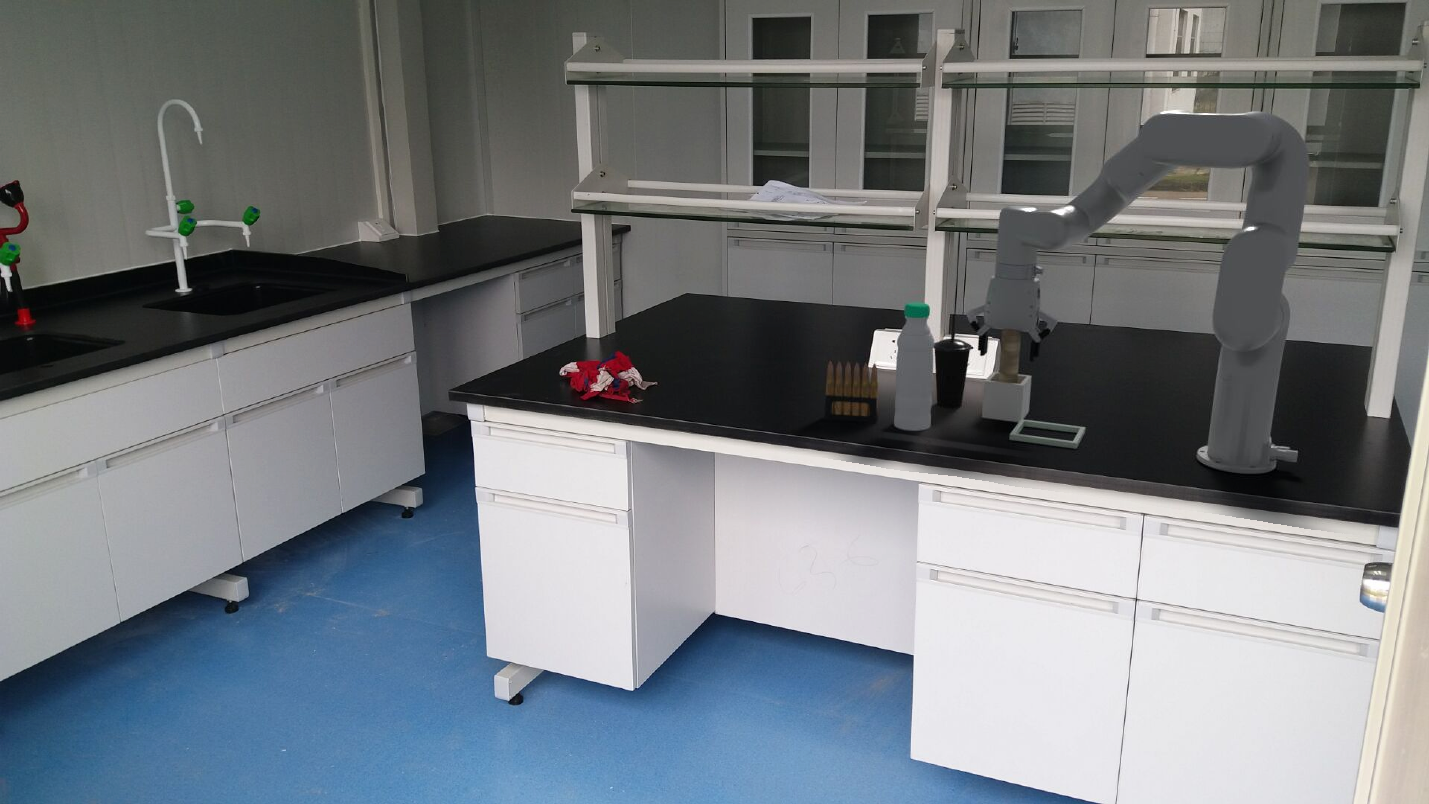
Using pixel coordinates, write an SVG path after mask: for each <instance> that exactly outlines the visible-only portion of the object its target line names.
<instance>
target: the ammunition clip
mask: <svg viewBox="0 0 1429 804" xmlns="http://www.w3.org/2000/svg"><path fill="white" fill-rule="evenodd" d="M827 365H828V366H827V370H826V371H827V373H826V381H825V402H824V415H823V417H824V418H823V419H824V420H829V421H844V422H858V423H859V422H860V423H874V424H876V423H878V421H879V408H878V407H879V404H878V401H879V399H878V398H879V395H878V394H879V382H878V368H877V365H876V363H873V365H872V368H871V374H870V375H871V376H870V379H869V368H868V363H866V362H865V363H864V366H863V367H862V375H861V373H860V372H861V371H860V366H859V363H858V362H856V363H855V365H854V370H853V376H852V369H851V364H850V362H849V361H847V362H846V366H845V368H844V369H845V371H844V381H843V368H842V363H841V361H838V363H837V365H836V368H835V369H836V370H835V379H834V368H833V367H834V366H833V363H832V361H831V360H830V361H829V363H828V364H827ZM860 375H861V376H862V377H861V376H860ZM852 377H853V378H852ZM869 380H870V382H869Z"/></svg>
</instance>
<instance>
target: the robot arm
mask: <svg viewBox="0 0 1429 804" xmlns="http://www.w3.org/2000/svg"><path fill="white" fill-rule="evenodd" d="M1179 167H1191V168H1210V169H1211V168H1212V169H1227V170H1229V169H1230V170H1232V169H1233V170H1235V169H1244V168H1248V167H1250V168H1251V181H1250V184H1249V189H1248V193H1247V197H1246V205H1245V210H1244V211H1245V212H1244V217H1243V223H1242V227H1241V230H1240V231H1238V232H1237V233H1235V235H1233V236H1232V237H1231V239H1229V241H1228V242H1227V244H1226V246H1225V248H1224V250H1223V254H1222V257H1221V261H1220V266H1219V273H1218V279H1217V284H1216V291H1215V295H1214V296H1215V297H1214V298H1215V299H1214V301H1213V302H1214V304H1213V310H1212V316H1211V317H1212V318H1211V325H1212V330H1213V332H1214V335H1215V337H1216V339H1217V340H1218V341H1219V343H1220V344H1221V347H1220V351H1219V357H1218V365H1217V371H1216V372H1217V373H1216V379H1215V384H1214V385H1215V386H1214V393H1213V404H1212V408H1211V409H1212V410H1211V416H1210V425H1209V433H1208V440H1207V445H1204V446H1202V447H1200V448H1198V450H1197V451H1196V459H1197V460H1198V461H1199V462H1200V463H1202V464H1203V465H1204V466H1207V467H1210V468H1212V469H1215V470H1219V471H1223V472H1229V473H1232V474H1233V473H1235V474H1245V475H1247V474H1248V475H1257V474H1258V475H1259V474H1265V473H1269V472H1271V471H1273V470H1274V469H1276V466H1277V460H1282V461H1285V462H1292V463H1297V460H1298V455H1299V452H1298V450H1291V448H1290V447H1289V446H1279V445H1275V444H1274V443H1272V437H1271V433H1272V427H1273V425H1272V424H1273V417H1274V411H1275V404H1276V398H1277V397H1276V396H1277V391H1278V385H1279V381H1280V380H1279V379H1280V371H1281V365H1282V360H1283V355H1284V349H1285V345H1286V340H1287V337H1288V331H1289V327H1290V321H1291V307H1290V304H1289V301H1288V299H1287V298H1286V296H1285V294H1284V293H1283V292H1282V290H1283V285H1284V282H1285V281H1284V280H1285V276H1286V272H1288V271H1289V270H1290V269H1291V268H1292V266H1293V264H1294V263H1295V261H1296V260H1297V256H1298V254H1299V253H1298V252H1299V244H1300V243H1299V242H1300V236H1301V231H1302V230H1301V229H1302V225H1303V224H1302V223H1303V217H1304V211H1305V203H1306V196H1307V191H1308V184H1309V179H1310V155H1309V150H1308V148H1307V144H1306V142H1305V141H1304V138H1303V137H1302V135H1301V133H1300V132H1299V131H1298V130H1297V129H1296V127H1294V126H1293V125H1291V123H1289V122H1288V121H1287V120H1285V119H1283V118H1281V117H1279V116H1277V115H1275V114H1272V113H1270V112H1265V111H1247V112H1243V113H1195V112H1194V113H1193V112H1191V111H1189V110H1184V109H1183V110H1182V109H1173V110H1165V111H1162V112H1159V113H1156V114H1154V115H1153V116H1151V117H1149V118H1148V119H1147V120H1146V121H1145V122H1144V124H1143V125H1142V126H1141V128H1140V130H1139V132H1138V136H1136V137H1135V138H1133V139H1132V140H1131V141H1130V142H1129V143H1127V144H1126V145H1125V146H1124V147H1122V148H1121V149H1120V150H1118V151H1117V152H1116V153H1114V155H1112V156H1111V157H1110V158H1109V159H1107V160H1106V161H1104V163H1103V165H1102V167H1101V168H1100V169H1101V170H1100V173H1099V175H1098V176H1097V178H1096V179H1094V181H1093V182H1092V183H1091V184H1090V185H1089V186H1088V187H1086V189H1084V190H1082V192H1081V193H1079V194H1078V195H1077V196H1076V197H1075V198H1073V199H1072V200H1070V201H1069V202H1068V203H1066V204H1065V205H1063V206H1060V207H1057V208H1054V209H1049V210H1042V211H1040V210H1039V209H1038V208H1036V207H1033V206H1026V205H1011V206H1006V207H1003V208H1002V209H1001V210H1000V212H999V218H998V226H997V227H998V228H997V229H998V230H997V243H996V254H995V264H994V265H995V266H994V275H992V276H991V278H990V280H989V285H988V288H987V293H986V297H985V299H986V300H985V304H983V305H980V306H978V307H975V308H973V309H971V310H969V311H967V312H966V318H967V319H968V322H969V323H970V327H971V328H972V329H973V330H974V332H976V335H977V336H978V340H977V341H978V343H977V351H979V357H984V356H985V355H986V354H988V348H989V347H988V346H989V345H988V344H989V334H988V331H989V330H990V329H997V330H998V329H999V330H1002V329H1011V330H1015V331H1021V332H1025V333H1027V332H1028V334H1029V335H1030V336H1031V338H1032V341H1031V342H1030V351H1029V362H1031V363H1033V362H1035V360H1036V359H1037V358H1039V357H1040V354H1041V353H1040V352H1041V343H1042V340H1044V339H1045V338H1047V337H1048V335H1050V334H1051V332H1052V331H1053V330H1054V328H1055V327H1056V325H1057V323H1058V319H1057V318H1055V317H1054V316H1052V315H1050V314H1049V313H1047V312H1045V311H1044V310H1042V309H1041V285H1040V279H1039V278H1036V276H1039V275H1043V274H1044V271H1045V269H1044V267H1040V266H1038V263H1037V259H1038V258H1037V257H1038V250H1041V251H1047V252H1057V251H1061V250H1064V249H1066V248H1068V247H1071V246H1074V245H1077V244H1080V243H1081V242H1083V241H1084V240H1086V239H1087V238H1089V237H1090V236H1091V235H1092V234H1094V233H1095V232H1097V231H1098V230H1099V229H1101V228H1102V227H1103V226H1105V225H1106V224H1107V223H1108V222H1110V221H1111V220H1112V219H1114V218H1115V217H1116V216H1117V215H1119V214H1120V213H1121V212H1122V211H1123V210H1125V209H1126V208H1127V207H1128V206H1130V205H1132V204H1133V202H1134V201H1136V200H1137V199H1138V198H1139V197H1140V196H1141V195H1143V194H1145V193H1146V192H1147V191H1148V190H1150V189H1151V188H1152V187H1154V185H1156V184H1157V183H1158V182H1160V181H1162V180H1163V179H1165V177H1167V176H1168V175H1169V174H1171V173H1172V172H1174V171H1175V170H1176V169H1177V168H1179ZM980 314H983V325H982V324H981V323H980V321H978V319H977V316H978V315H980ZM1040 320H1042V321H1044V322H1045V323H1046V327H1045V328H1044V329H1043V330H1040V329H1039V324H1040Z"/></svg>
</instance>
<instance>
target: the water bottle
mask: <svg viewBox="0 0 1429 804" xmlns="http://www.w3.org/2000/svg"><path fill="white" fill-rule="evenodd" d="M903 312H904V318H905V320H906V321H905V324H904V325H903V327H902V329H901V332H900V334H899V335H898V337H897V340H896V346H897V353H896V363H895V365H896V367H895V392H896V393H895V395H894V396H895V397H894V408H895V409H894V410H895V411H894V412H895V413H894V417H893V418H894V419H893V425H894V427H896V428H898V429H900V430H904V431H914V432H915V431H917V432H919V431H924V430H928V429H930V428H931V425H932V422H931V421H932V419H931V418H932V415H931V414H932V413H931V411H932V410H931V409H932V403H933V401H932V400H933V399H932V388H933V378H934V343H935V339H934V336H933V333H932V332H931V328H930V326H929V325H928V319H930V317H929V316H930V312H931V308H930V305H929V304H927V303H924V302H909V303H907V304H905V306H904V310H903Z"/></svg>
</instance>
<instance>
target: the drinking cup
mask: <svg viewBox="0 0 1429 804" xmlns="http://www.w3.org/2000/svg"><path fill="white" fill-rule="evenodd" d="M951 315H952V316H951V331H950V332H951V334H950V335H951V336H950V338H945V339H942V340H940V341H936V342H934V348H933V350H934V362H935V363H934V364H935V365H934V367H935V391H936V405H937V406H938V407H940V408H944V409H957V408H960V407H962V405H963V398H964V392H965V387H966V378H967V372H968V366H969V365H968V364H969V358H970V354H971V353H970V352H971V350H972V348H973V347H972V344H971V343H968V342H966V341H964V340H962V339H960V338H955V335H956V320H957V319H956V314H954V313H952V314H951Z"/></svg>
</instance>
